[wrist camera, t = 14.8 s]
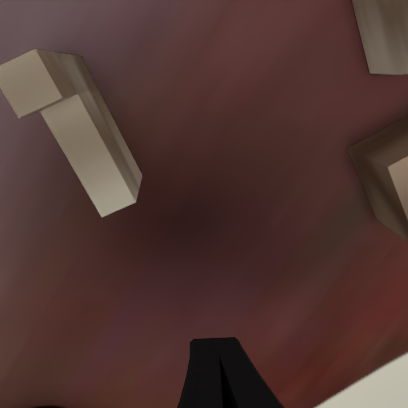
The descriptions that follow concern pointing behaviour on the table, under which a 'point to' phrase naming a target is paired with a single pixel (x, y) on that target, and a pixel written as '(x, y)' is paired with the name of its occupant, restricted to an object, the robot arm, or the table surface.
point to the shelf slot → (104, 123)
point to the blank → (385, 174)
